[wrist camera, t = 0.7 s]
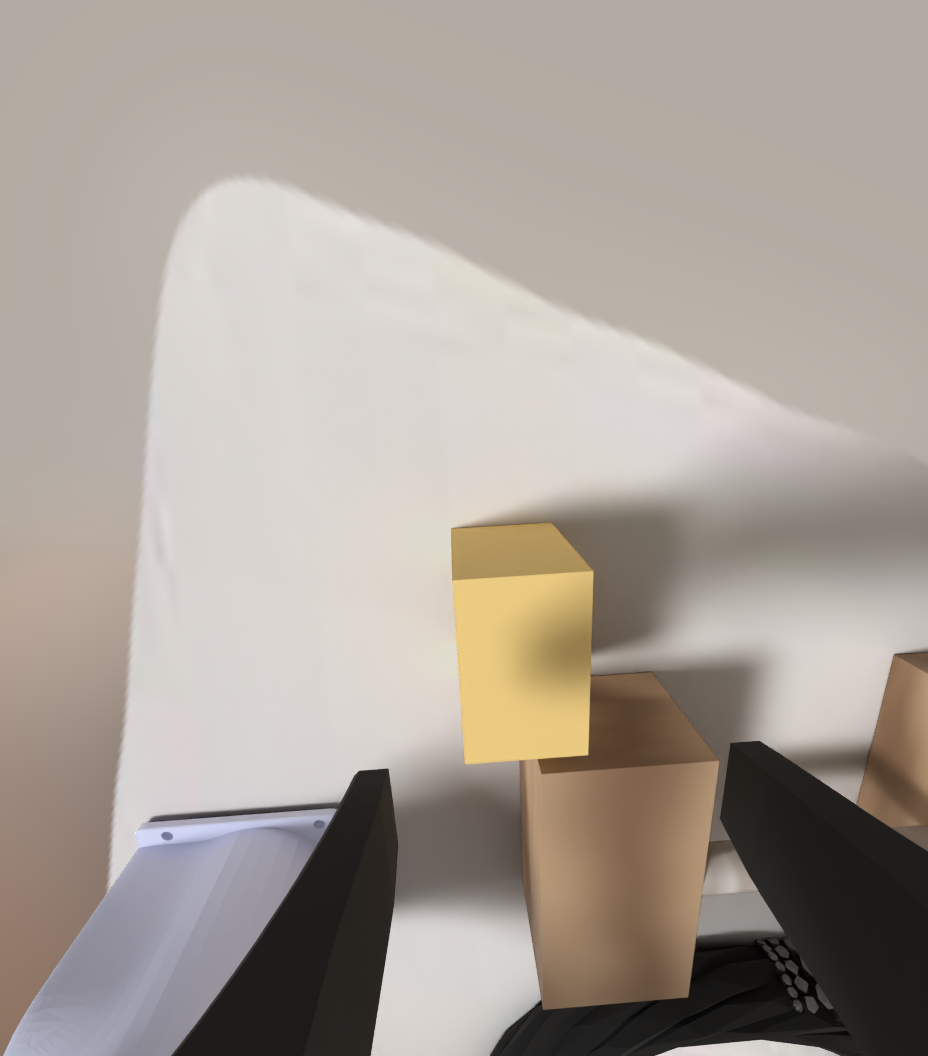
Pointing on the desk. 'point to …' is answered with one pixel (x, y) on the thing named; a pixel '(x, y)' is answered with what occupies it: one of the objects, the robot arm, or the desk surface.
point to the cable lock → (697, 1012)
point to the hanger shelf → (665, 836)
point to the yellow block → (522, 642)
